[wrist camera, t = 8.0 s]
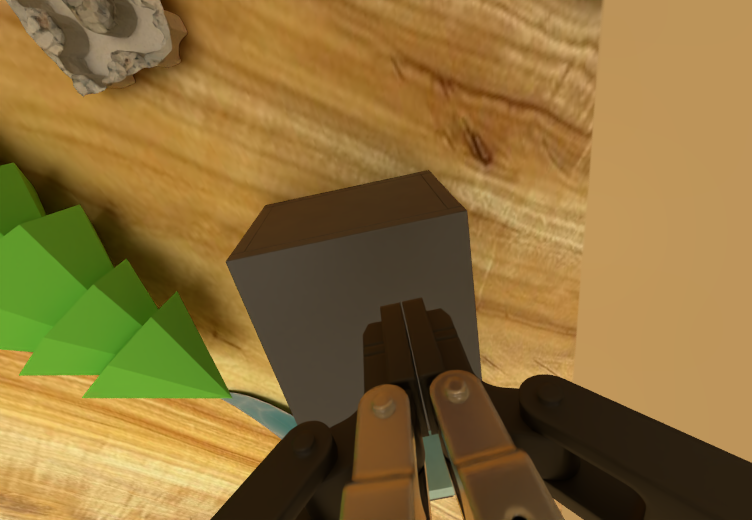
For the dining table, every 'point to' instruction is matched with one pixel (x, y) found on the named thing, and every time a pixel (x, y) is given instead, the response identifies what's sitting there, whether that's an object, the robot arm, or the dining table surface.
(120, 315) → the decorative tree
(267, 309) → the cabinet
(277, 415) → the knife
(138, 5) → the egg carton
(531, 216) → the dining table surface
